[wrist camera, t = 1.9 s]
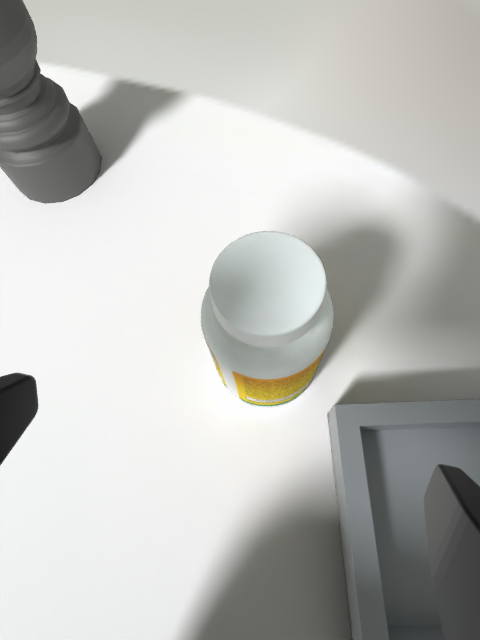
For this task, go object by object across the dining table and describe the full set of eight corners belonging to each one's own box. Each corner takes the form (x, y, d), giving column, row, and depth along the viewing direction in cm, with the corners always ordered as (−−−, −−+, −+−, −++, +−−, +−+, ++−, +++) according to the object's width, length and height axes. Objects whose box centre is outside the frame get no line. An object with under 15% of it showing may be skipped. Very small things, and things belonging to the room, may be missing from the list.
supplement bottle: (198, 365, 23) (154, 286, 14) (261, 299, 24) (257, 188, 15) (272, 431, 21) (275, 389, 12) (335, 356, 22) (379, 270, 14)
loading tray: (597, 648, 17) (649, 673, 15) (353, 651, 17) (366, 675, 15) (525, 406, 21) (557, 395, 18) (327, 414, 21) (334, 404, 19)
